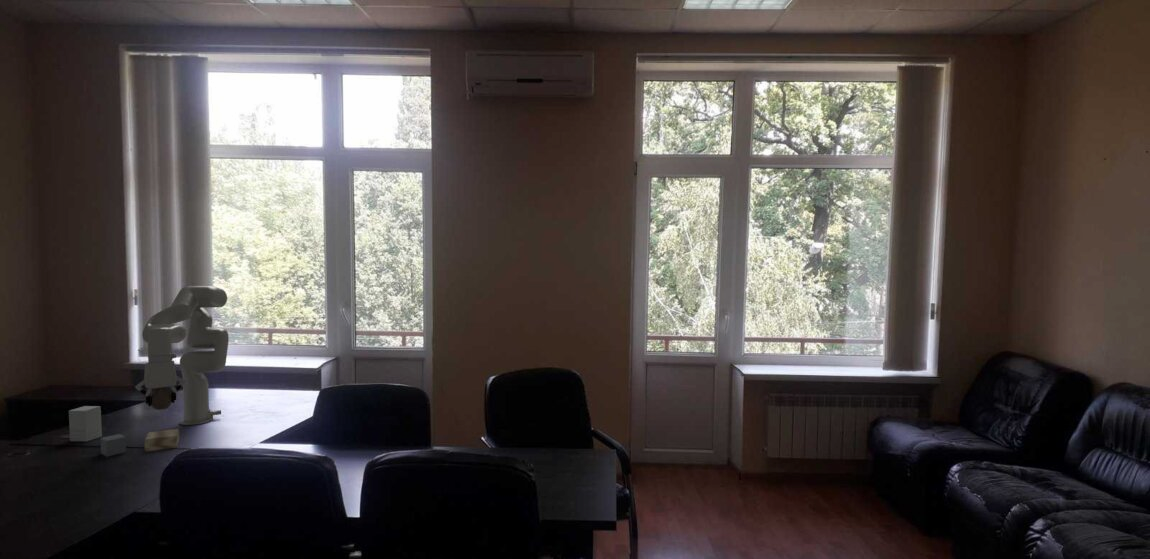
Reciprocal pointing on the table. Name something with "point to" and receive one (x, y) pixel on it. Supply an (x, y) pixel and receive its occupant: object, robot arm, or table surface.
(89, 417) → the supplement box
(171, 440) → the birch block
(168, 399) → the vase
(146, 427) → the table surface
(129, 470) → the table surface
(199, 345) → the robot arm
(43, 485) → the table surface
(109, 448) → the slate block
